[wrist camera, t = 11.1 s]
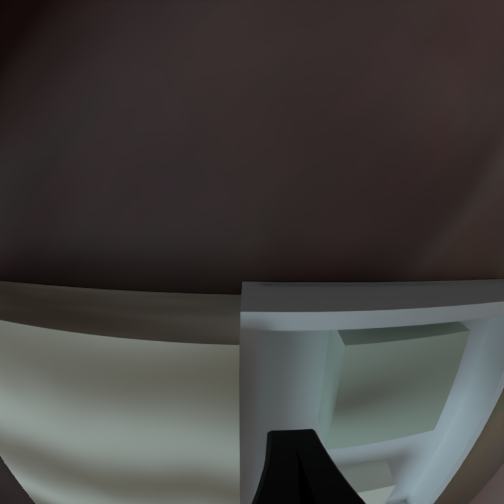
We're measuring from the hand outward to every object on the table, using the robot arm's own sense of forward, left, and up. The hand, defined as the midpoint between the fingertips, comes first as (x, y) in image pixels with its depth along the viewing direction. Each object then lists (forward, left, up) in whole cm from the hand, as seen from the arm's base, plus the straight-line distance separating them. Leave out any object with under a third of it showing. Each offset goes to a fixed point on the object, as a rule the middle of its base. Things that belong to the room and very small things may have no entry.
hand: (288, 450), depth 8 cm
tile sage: (0, -4, -2) cm, 5 cm away
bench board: (-4, +8, -4) cm, 10 cm away
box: (-4, -4, -4) cm, 8 cm away
